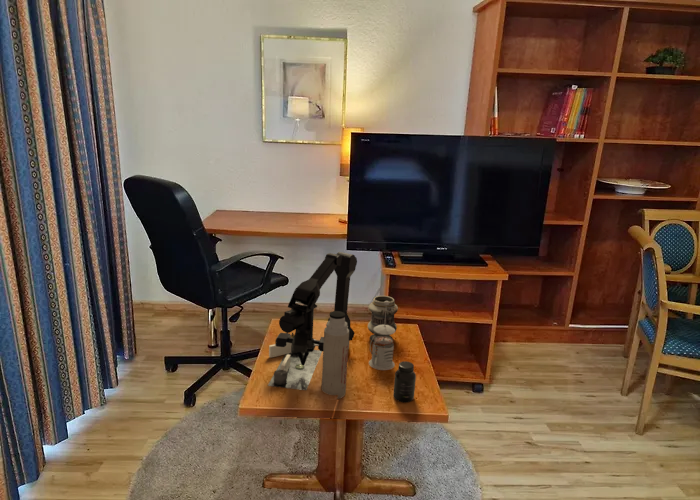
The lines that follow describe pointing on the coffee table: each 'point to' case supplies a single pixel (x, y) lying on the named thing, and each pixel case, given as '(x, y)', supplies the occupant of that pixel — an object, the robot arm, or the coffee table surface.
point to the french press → (382, 347)
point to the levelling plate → (299, 371)
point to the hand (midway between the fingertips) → (303, 364)
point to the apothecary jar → (382, 314)
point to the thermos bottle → (335, 355)
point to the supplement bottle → (404, 382)
